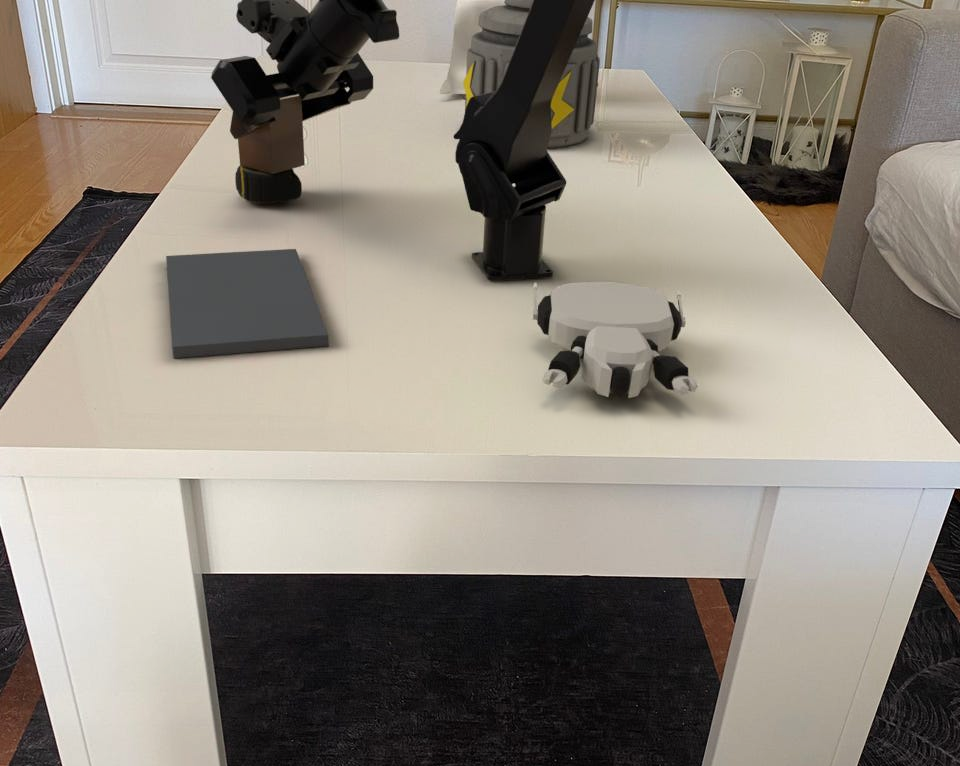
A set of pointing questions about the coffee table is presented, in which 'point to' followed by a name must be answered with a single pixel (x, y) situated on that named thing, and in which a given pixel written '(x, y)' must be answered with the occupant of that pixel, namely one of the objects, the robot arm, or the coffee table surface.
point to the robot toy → (612, 337)
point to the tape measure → (267, 185)
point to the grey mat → (241, 303)
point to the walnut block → (276, 141)
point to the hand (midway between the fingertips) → (260, 128)
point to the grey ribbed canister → (573, 90)
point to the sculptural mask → (464, 41)
